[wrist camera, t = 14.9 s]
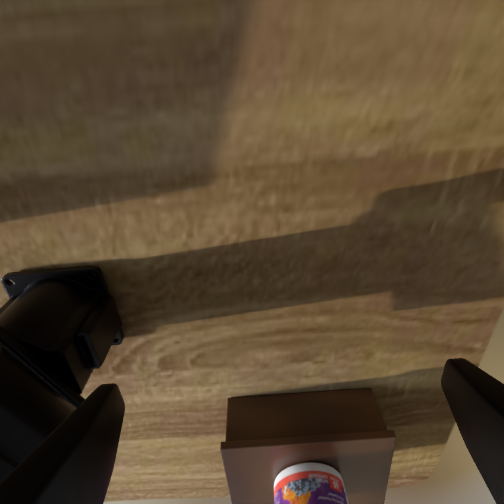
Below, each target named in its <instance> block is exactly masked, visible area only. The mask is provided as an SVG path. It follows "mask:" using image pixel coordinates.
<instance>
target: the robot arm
mask: <svg viewBox="0 0 504 504" xmlns="http://www.w3.org/2000/svg"><path fill="white" fill-rule="evenodd" d="M91 272H93V273H95V274H96V276H95V275H92V274H91ZM9 279H10V280H12V281H13V282H11V281H10V280H9ZM1 282H2V285H3V286H4V288H5V290H6V292H7V294H8V296H9V298H10V299H9V300H8V301H7V302H6V303H5V304H4V305H3V306H2V307H1V308H0V504H103V502H104V499H105V495H106V492H107V489H108V486H109V482H110V479H111V475H112V472H113V468H114V463H115V458H116V453H117V448H118V443H119V438H120V433H121V428H122V422H123V417H124V412H125V404H124V401H123V398H122V395H121V393H120V390H119V388H118V386H117V385H116V384H114V383H113V384H102V385H100V386H99V387H98V388H97V389H96V390H94V391H93V392H92V393H91V394H90V395H89V396H88V397H87V398H86V399H84V398H83V397H82V396H81V395H80V394H81V393H82V391H83V389H84V387H85V385H86V383H87V381H88V379H89V377H90V375H91V373H92V371H93V369H98V368H100V366H101V365H102V364H103V362H104V360H105V358H106V356H107V354H108V352H109V349H110V347H111V345H119V344H121V343H122V341H123V339H124V334H123V331H122V329H121V325H122V322H121V319H120V316H119V314H118V311H117V308H116V305H115V302H114V299H113V296H112V295H111V294H109V291H108V288H107V285H106V282H105V279H104V276H103V273H102V271H101V269H100V268H98V267H96V266H84V267H72V268H60V269H48V270H36V271H24V272H12V273H7V274H6V275H5V276H3V277H2V279H1ZM115 337H117V338H118V339H117V338H115ZM441 386H442V389H443V392H444V394H445V397H446V399H447V401H448V404H449V406H450V409H451V411H452V414H453V416H454V418H455V421H456V423H457V426H458V428H459V431H460V433H461V435H462V437H463V440H464V442H465V444H466V447H467V449H468V451H469V453H470V455H471V456H472V458H473V460H474V462H475V464H476V466H477V468H478V470H479V472H480V473H481V475H482V477H483V479H484V481H485V483H486V485H487V487H488V488H489V490H490V492H491V494H492V496H493V498H494V500H495V501H496V504H504V384H503V383H501V382H500V381H498V380H496V379H495V378H493V377H492V376H490V375H489V374H487V373H486V372H484V371H483V370H481V369H480V368H478V367H477V366H475V365H474V364H472V363H470V362H469V361H467V360H466V359H463V358H457V359H448V360H447V361H446V363H445V367H444V371H443V375H442V379H441Z"/></svg>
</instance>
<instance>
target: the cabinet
mask: <svg viewBox="0 0 504 504" xmlns="http://www.w3.org/2000/svg"><path fill="white" fill-rule="evenodd" d="M395 441H396V436H395V433H394V431H393V430H387V428H386V425H385V423H384V420H383V417H382V415H381V412H380V410H379V407H378V405H377V402H376V400H375V397H374V395H373V392H372V390H371V388H361V389H347V390H333V391H320V392H306V393H292V394H278V395H264V396H251V397H237V398H228V405H227V424H226V442H221V448H220V450H221V454H222V459H223V464H224V469H225V473H226V478H227V483H228V487H229V492H230V497H231V502H232V504H274V482H275V479H276V477H277V476H278V474H279V473H280V472H281V471H283V470H284V469H286V468H288V467H290V466H293V465H296V464H300V463H321V464H326V465H328V466H331V467H332V468H334V469H335V470H336V471H338V472H339V474H340V475H341V477H342V479H343V482H344V486H345V490H346V494H347V499H348V503H349V504H384V500H385V495H386V489H387V484H388V479H389V473H390V468H391V462H392V457H393V451H394V446H395Z"/></svg>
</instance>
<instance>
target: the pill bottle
mask: <svg viewBox="0 0 504 504" xmlns="http://www.w3.org/2000/svg"><path fill="white" fill-rule="evenodd" d="M274 504H349V503H348V499H347V494H346V490H345V486H344V482H343V479H342V477H341V475H340V474H339V472H338V471H336V470H335V469H334V468H332V467H331V466H328V465H326V464H321V463H300V464H296V465H293V466H290V467H288V468H286V469H284V470H283V471H281V472H280V473H279V474H278V476H277V477H276V479H275V482H274Z"/></svg>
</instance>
